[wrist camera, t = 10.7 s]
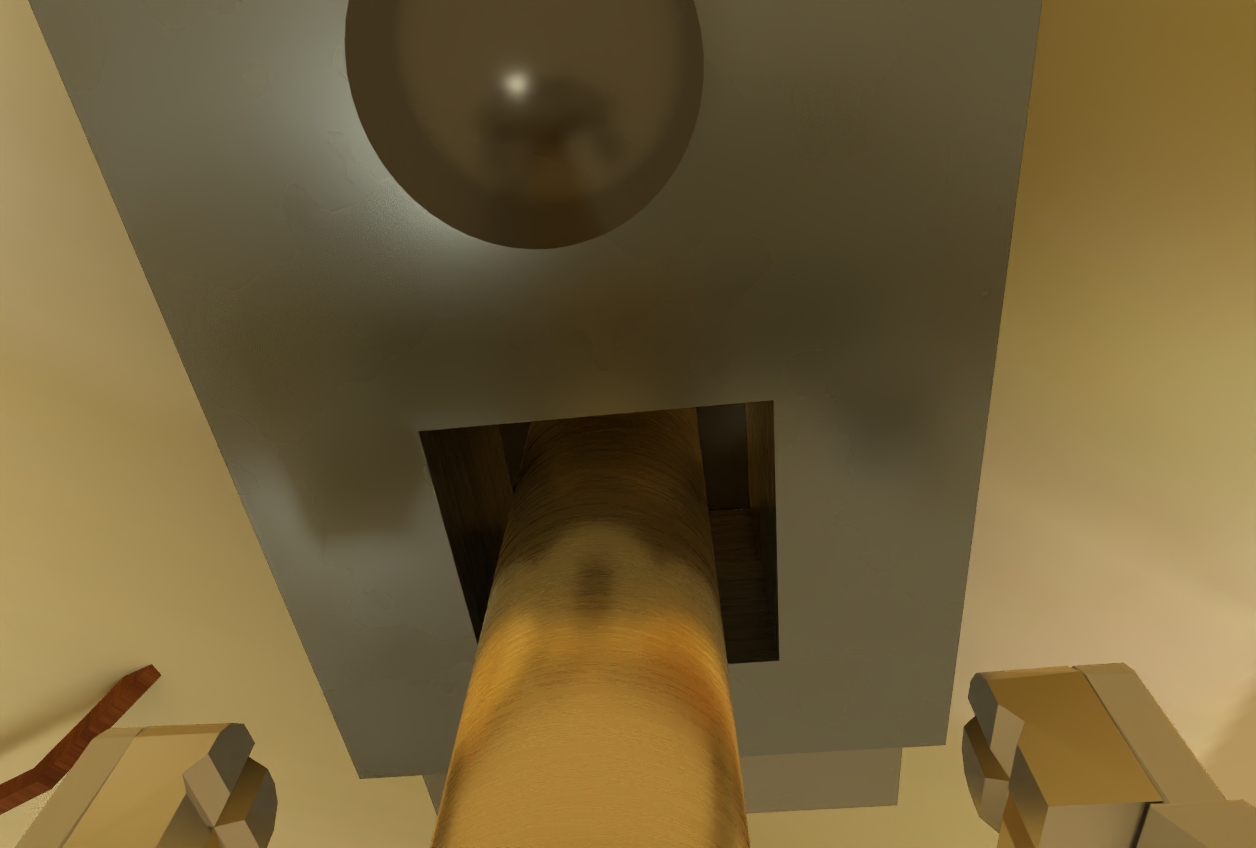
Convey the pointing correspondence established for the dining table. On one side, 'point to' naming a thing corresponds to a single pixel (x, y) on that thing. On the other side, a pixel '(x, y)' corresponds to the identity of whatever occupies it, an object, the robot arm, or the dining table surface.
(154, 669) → the glasses
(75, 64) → the metal plate with knobs
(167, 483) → the dining table surface
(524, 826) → the pin
